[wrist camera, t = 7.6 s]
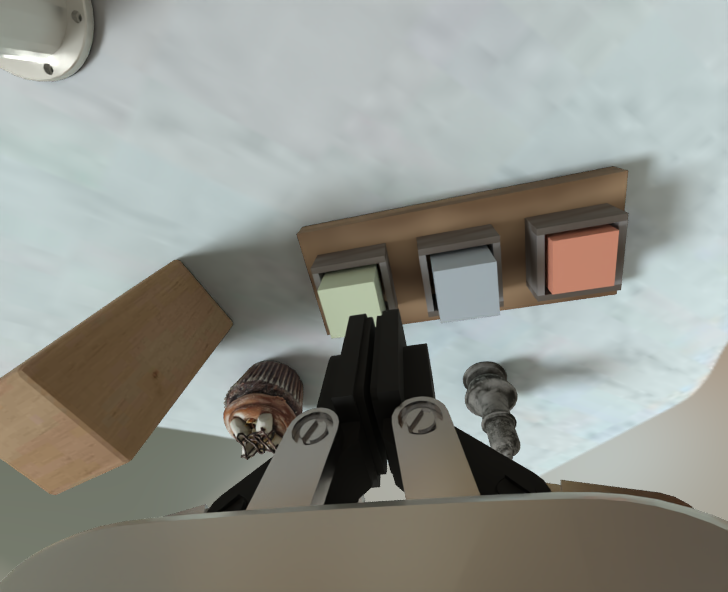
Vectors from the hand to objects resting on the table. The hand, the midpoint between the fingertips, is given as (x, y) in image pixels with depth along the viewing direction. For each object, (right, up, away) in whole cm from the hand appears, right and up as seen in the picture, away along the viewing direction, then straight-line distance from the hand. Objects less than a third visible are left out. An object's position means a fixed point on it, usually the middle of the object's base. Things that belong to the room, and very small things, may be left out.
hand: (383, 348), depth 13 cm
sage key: (-1, +2, +24) cm, 24 cm away
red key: (+18, +6, +22) cm, 29 cm away
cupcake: (-13, -10, +37) cm, 40 cm away
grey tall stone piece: (+14, -8, +34) cm, 38 cm away
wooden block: (-23, 0, +33) cm, 40 cm away
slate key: (+8, +4, +22) cm, 24 cm away
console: (+9, +6, +26) cm, 28 cm away
